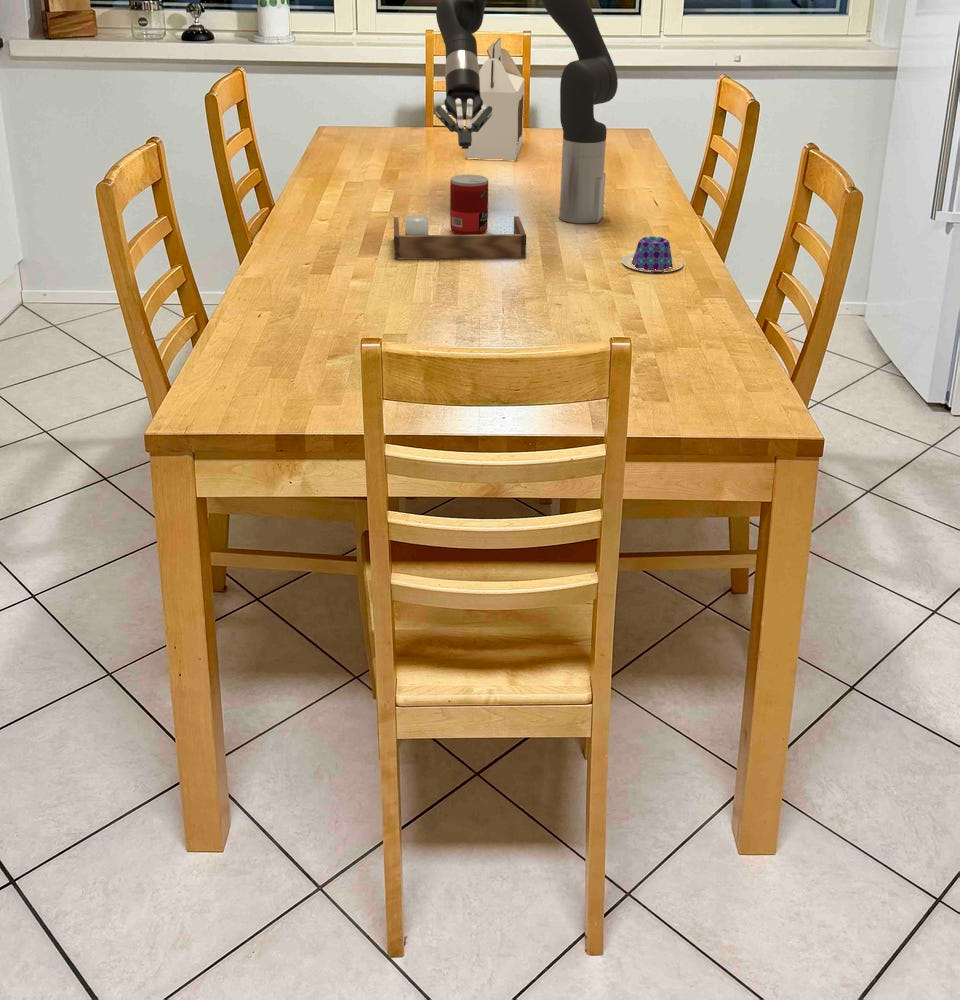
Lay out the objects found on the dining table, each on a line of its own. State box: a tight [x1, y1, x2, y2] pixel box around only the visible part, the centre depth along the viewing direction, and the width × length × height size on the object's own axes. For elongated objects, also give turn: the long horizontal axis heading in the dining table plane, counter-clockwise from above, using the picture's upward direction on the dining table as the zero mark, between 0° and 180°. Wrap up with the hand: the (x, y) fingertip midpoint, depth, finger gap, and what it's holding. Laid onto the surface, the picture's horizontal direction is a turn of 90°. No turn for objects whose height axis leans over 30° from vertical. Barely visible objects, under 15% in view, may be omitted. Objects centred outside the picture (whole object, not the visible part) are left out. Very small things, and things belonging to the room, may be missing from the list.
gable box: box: [465, 37, 526, 161], centre depth 304 cm, size 22×13×28 cm, turn 173°
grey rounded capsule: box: [404, 214, 429, 235], centre depth 229 cm, size 5×5×7 cm
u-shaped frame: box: [393, 215, 527, 259], centre depth 233 cm, size 26×14×4 cm, turn 94°
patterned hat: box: [621, 235, 684, 273], centre depth 225 cm, size 12×12×5 cm
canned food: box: [449, 174, 489, 235], centre depth 242 cm, size 8×8×11 cm
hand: (465, 146), depth 249 cm, fingers closed
